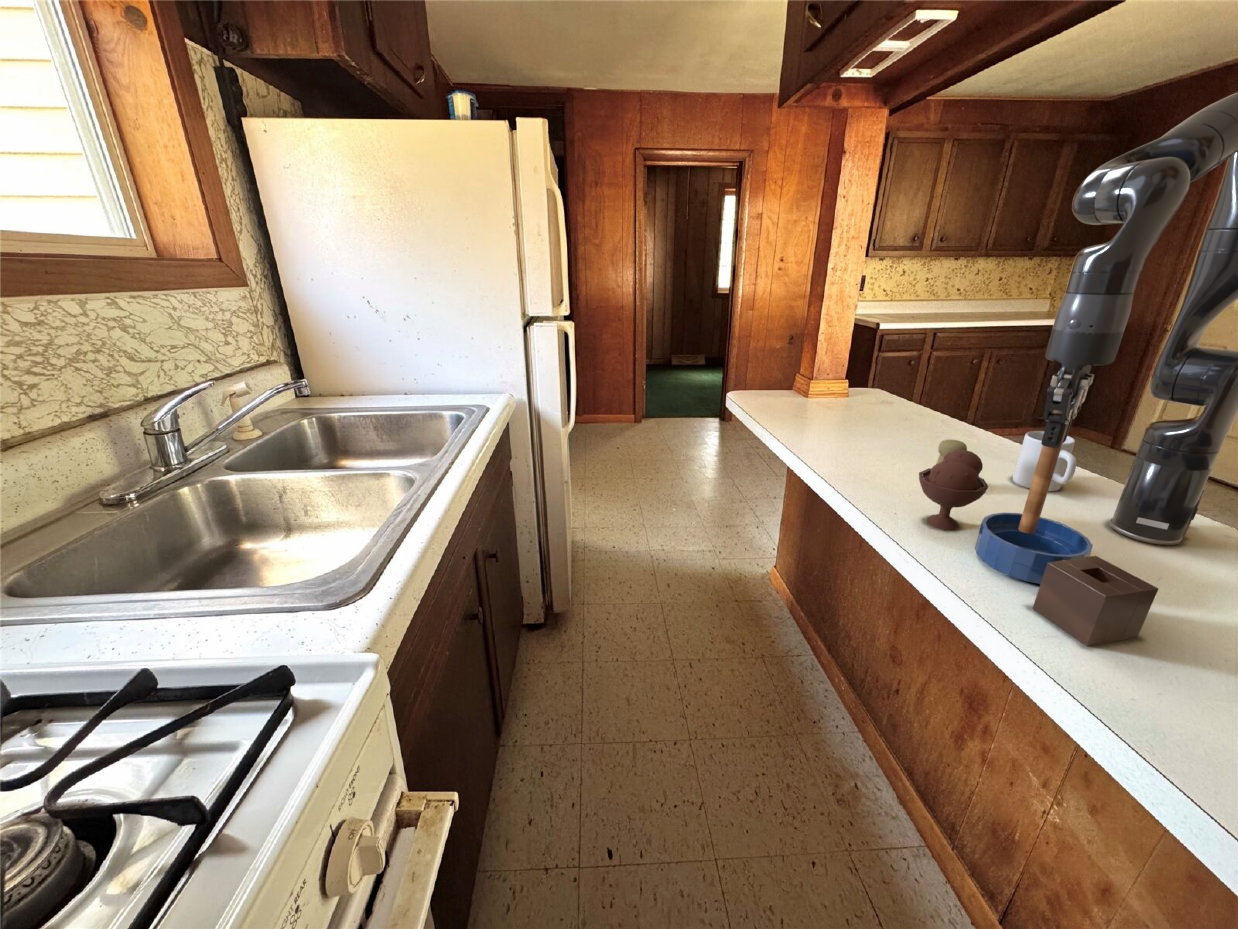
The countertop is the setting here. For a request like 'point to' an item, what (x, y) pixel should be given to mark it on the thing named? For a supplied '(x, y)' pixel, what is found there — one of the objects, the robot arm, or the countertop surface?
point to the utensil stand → (1094, 600)
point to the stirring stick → (1039, 487)
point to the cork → (949, 448)
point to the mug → (1031, 456)
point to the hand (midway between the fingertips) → (1053, 443)
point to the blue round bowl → (1027, 545)
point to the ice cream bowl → (952, 486)
